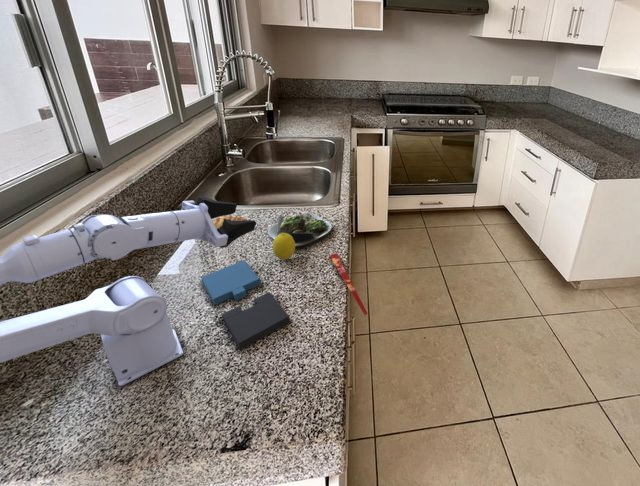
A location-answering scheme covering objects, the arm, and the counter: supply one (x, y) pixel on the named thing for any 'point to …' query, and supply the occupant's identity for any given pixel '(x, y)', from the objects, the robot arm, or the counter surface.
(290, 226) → the salad plate
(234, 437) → the counter surface
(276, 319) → the charcoal pad
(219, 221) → the pastry
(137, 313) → the robot arm
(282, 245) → the lemon
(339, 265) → the chopstick
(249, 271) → the blue pad
